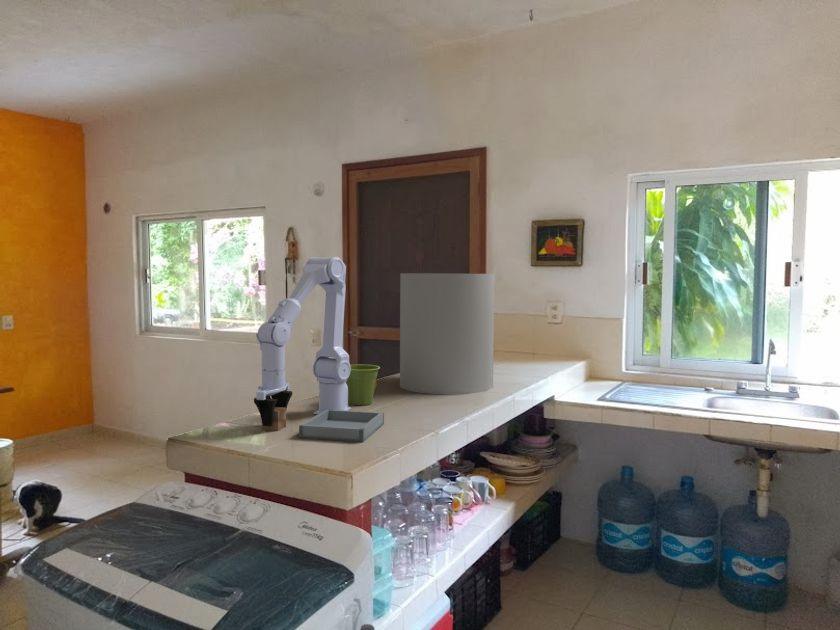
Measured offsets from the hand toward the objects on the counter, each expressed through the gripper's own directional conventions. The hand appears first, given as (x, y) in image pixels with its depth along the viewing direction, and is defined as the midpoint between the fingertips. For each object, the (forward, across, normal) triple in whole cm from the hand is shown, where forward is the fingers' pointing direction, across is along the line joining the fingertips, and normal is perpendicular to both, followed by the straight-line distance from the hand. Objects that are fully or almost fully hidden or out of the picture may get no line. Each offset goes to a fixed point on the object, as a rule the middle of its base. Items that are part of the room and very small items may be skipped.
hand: (273, 422), depth 152 cm
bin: (+1, -2, +18) cm, 18 cm away
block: (+2, 0, 0) cm, 2 cm away
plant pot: (+2, -34, +12) cm, 36 cm away
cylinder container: (+2, -71, +32) cm, 78 cm away
